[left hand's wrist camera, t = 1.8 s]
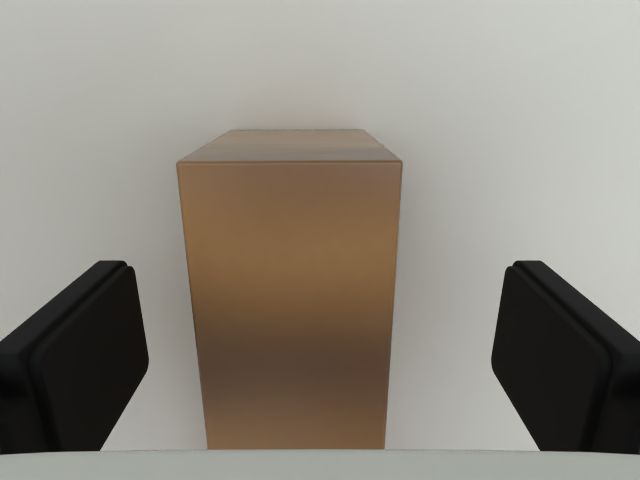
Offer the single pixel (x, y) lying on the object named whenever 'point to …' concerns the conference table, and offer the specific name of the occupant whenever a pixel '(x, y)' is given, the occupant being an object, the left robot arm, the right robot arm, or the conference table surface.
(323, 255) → the bar
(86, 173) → the conference table surface
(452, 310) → the conference table surface
